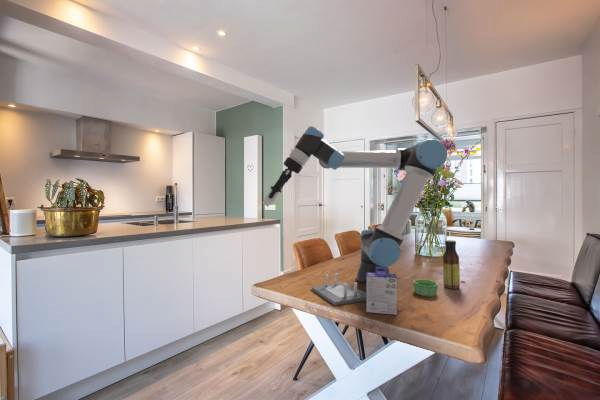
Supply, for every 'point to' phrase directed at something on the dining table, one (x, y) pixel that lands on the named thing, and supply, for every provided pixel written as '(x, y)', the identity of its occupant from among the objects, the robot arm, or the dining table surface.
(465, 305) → the dining table surface
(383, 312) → the ink cartridge box
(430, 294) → the ramekin
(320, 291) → the pin tray
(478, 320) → the dining table surface
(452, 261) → the sauce bottle
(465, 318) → the dining table surface
